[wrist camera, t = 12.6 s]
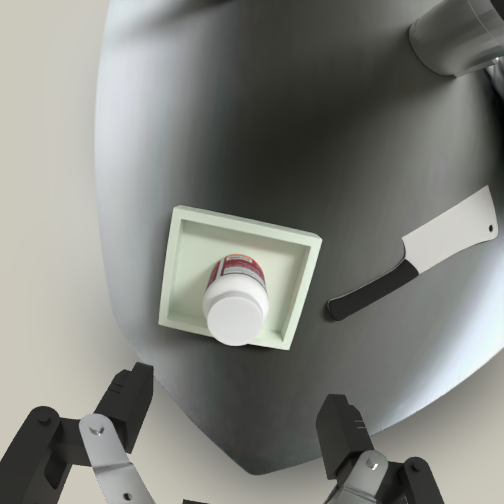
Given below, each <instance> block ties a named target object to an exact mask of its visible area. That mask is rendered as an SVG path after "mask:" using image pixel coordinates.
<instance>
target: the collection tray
mask: <svg viewBox="0 0 504 504" xmlns="http://www.w3.org/2000/svg"><path fill="white" fill-rule="evenodd" d="M321 243H322V239H321V238H320V237H319V236H318V235H317V234H314V233H310V232H305V231H301V230H297V229H292V228H288V227H283V226H279V225H275V224H270V223H265V222H261V221H256V220H252V219H247V218H242V217H238V216H233V215H228V214H223V213H218V212H214V211H209V210H204V209H199V208H194V207H189V206H183V205H178V206H176V207H174V208H173V214H172V220H171V226H170V233H169V239H168V246H167V253H166V260H165V268H164V276H163V284H162V293H161V302H160V312H159V322H158V325H162V326H166V327H171V328H175V329H179V330H183V331H188V332H192V333H197V334H202V335H206V336H211V337H214V336H213V335H212V334H211V333H210V331H209V329H208V326H207V320H206V318H205V316H204V313H203V298H204V294H205V291H206V288H207V285H208V282H209V278H210V275H211V272H212V270H213V268H214V266H215V265H216V263H217V262H218V261H219V260H220V259H222V258H223V257H225V256H227V255H231V254H244V255H247V256H249V257H251V258H253V259H254V260H255V261H256V262H257V263H258V264H259V265H260V267H261V269H262V271H263V274H264V278H265V284H266V289H267V294H268V299H269V313H268V316H267V318H266V320H265V322H264V323H263V327H262V330H261V332H260V334H259V335H258V336H257V337H256V338H255V339H254V340H253V341H251V342H250V343H248V344H253V345H259V346H265V347H272V348H278V349H285V350H289V348H290V345H291V342H292V339H293V336H294V333H295V330H296V327H297V324H298V320H299V317H300V314H301V311H302V308H303V305H304V301H305V298H306V295H307V292H308V288H309V285H310V281H311V278H312V275H313V271H314V268H315V264H316V261H317V257H318V253H319V250H320V246H321Z"/></svg>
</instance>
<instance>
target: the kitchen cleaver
mask: <svg viewBox="0 0 504 504" xmlns="http://www.w3.org/2000/svg"><path fill="white" fill-rule="evenodd" d="M490 225H492V231H491V232H490V231H489V226H490ZM497 235H498V225H497V219H496V214H495V209H494V205H493V201H492V198H491V194H490V191H489V187H488V185H487V186H485V187H484V188H482V189H481V190H479V191H477V192H476V193H474V194H473V195H471V196H470V197H468V198H467V199H465V200H464V201H462V202H460V203H459V204H457V205H456V206H454V207H452V208H451V209H449V210H448V211H446V212H444V213H443V214H441V215H440V216H438V217H436V218H435V219H433V220H431V221H430V222H428V223H426V224H425V225H423V226H421V227H420V228H418V229H416V230H415V231H413V232H411V233H409V234H408V235H406V236H404V237H403V238H402V240H403V243H404V246H405V257H404V259H402V261H401V262H400V263H399V264H398V265H397V266H396V267H395V268H393V269H392V270H390V271H389V272H387V273H385V274H383V275H382V276H380V277H378V278H376V279H374V280H373V281H371V282H369V283H367V284H365V285H363V286H361V287H359V288H357V289H355V290H353V291H351V292H349V293H347V294H345V295H343V296H340V297H337V298H334V299H330V300H329V301H328V304H327V306H328V310H329V313H330V315H331V316H332V318H333V319H334V320H336V321H340V320H342V319H344V318H346V317H348V316H349V315H351V314H353V313H355V312H357V311H359V310H360V309H362V308H364V307H366V306H368V305H369V304H371V303H373V302H375V301H376V300H378V299H380V298H382V297H384V296H385V295H387V294H389V293H391V292H392V291H394V290H396V289H398V288H399V287H401V286H403V285H404V284H406V283H408V282H409V281H411V280H412V279H414V278H415V277H417V276H418V275H419V274H420V273H422V272H424V271H426V270H427V269H429V268H431V267H432V266H434V265H436V264H437V263H439V262H441V261H442V260H444V259H446V258H447V257H449V256H451V255H453V254H454V253H456V252H458V251H460V250H463V249H465V248H467V247H469V246H472V245H474V244H477V243H480V242H483V241H487V240H491V239H494V238H496V237H497Z"/></svg>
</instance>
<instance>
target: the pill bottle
mask: <svg viewBox="0 0 504 504" xmlns="http://www.w3.org/2000/svg"><path fill="white" fill-rule="evenodd" d="M203 313H204V316H205V318H206V320H207V326H208V329H209V331H210V333H211V334H212V335H213V336H214V338H216V339H217V340H218V341H220V342H222V343H224V344H227V345H231V346H240V345H245V344H248V343H250V342H251V341H253V340H254V339H255V338H256V337H257V336H258V335H259V334H260V332H261V330H262V327H263V323H264V322H265V320H266V318H267V316H268V313H269V299H268V294H267V289H266V284H265V278H264V274H263V271H262V269H261V267H260V265H259V264H258V263H257V262H256V261H255V260H254V259H253V258H251V257H249V256H247V255H244V254H231V255H227V256H225V257H223V258H222V259H220V260H219V261H218V262H217V263H216V265H215V266H214V268H213V270H212V272H211V275H210V278H209V282H208V285H207V288H206V291H205V294H204V298H203Z"/></svg>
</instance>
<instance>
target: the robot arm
mask: <svg viewBox="0 0 504 504" xmlns="http://www.w3.org/2000/svg"><path fill="white" fill-rule="evenodd" d="M409 40H410V44H411V46H412V48H413V50H414V52H415V53H416V55H417V57H418V58H419V59H420V60H421V62H423V63H424V64H425V65H426V66H427V67H428V68H429V69H431V70H432V71H434V72H435V73H437V74H440V75H445V76H448V75H454V76H456V77H460V76H463V75H465V74H468V73H471V72H474V71H477V70H480V69H483V68H486V67H489V66H492V65H495V64H497V63H498V61H499V60H498V57H501V56H504V0H443V1H442V2H440V3H439V4H438V5H436V6H435V7H434V8H432V9H431V10H430V11H428V12H427V13H426V14H424V15H423V16H422V17H421V18H419V19H418V20H416V22H414V23H413V24H412V25H411V27H410V28H409ZM153 371H154V369H153V366H151V365H147V364H143V363H140V362H137V363H136V364H135V366H134V368H133V369H132V371H128V370H122V371H121V372H120V373H118V374H117V375H115V377H114V379H113V380H112V382H111V384H110V386H109V387H108V390H107V391H106V392H105V394H104V396H103V397H102V400H101V401H100V403H99V404H98V406H97V408H96V410H95V411H94V413H93V414H89V415H86V416H84V417H83V418H82V419H80V420H76V419H68V418H61V417H59V414H58V413H57V412H56V411H55V410H54V409H52V408H51V407H47V406H40V407H36V408H35V409H33V410H32V411H31V412H30V414H29V415H28V417H27V418H26V420H25V421H24V423H23V424H22V426H21V428H20V429H19V431H18V432H17V434H16V436H15V437H14V439H13V441H12V442H11V444H10V446H9V447H8V449H7V451H6V453H5V454H4V456H3V458H2V460H1V461H0V504H57V503H58V500H59V498H60V495H61V492H62V490H63V487H64V484H65V482H66V479H67V477H68V474H69V472H70V469H71V467H72V464H74V465H81V466H90V467H93V470H94V473H95V476H96V478H97V481H98V483H99V485H100V488H101V490H102V492H103V494H104V497H105V499H106V501H107V503H108V504H155V502H154V500H153V499H152V497H151V495H150V493H149V492H148V490H147V488H146V487H145V485H144V483H143V481H142V479H141V477H140V476H139V474H138V472H137V470H136V468H135V467H134V465H133V464H132V463H131V462H130V461H129V459H128V457H127V455H126V453H129V454H131V452H132V450H133V447H134V444H135V442H136V439H137V436H138V434H139V431H140V429H141V426H142V424H143V421H144V418H145V416H146V413H147V411H148V408H149V405H150V403H151V400H152V396H153ZM316 429H317V434H318V438H319V442H320V447H321V451H322V456H323V460H324V465H325V469H326V474H327V478H328V480H332V479H337V485H336V486H335V487H334V489H333V490H332V492H331V493H330V495H329V496H328V497H327V499H326V500H325V502H324V503H323V504H375V503H376V504H407V503H408V504H444V501H443V499H442V496H441V494H440V491H439V489H438V487H437V484H436V482H435V479H434V477H433V475H432V472H431V470H430V467H429V465H428V463H427V462H426V461H425V460H423V459H422V458H419V457H411V458H409V459H407V460H406V461H405V462H404V463H396V462H390V461H388V460H387V458H386V457H385V456H384V455H383V454H382V453H380V452H378V451H375V450H374V447H373V445H372V443H371V439H370V437H369V434H368V432H367V429H366V428H365V424H364V422H363V419H362V417H361V414H360V412H359V411H358V410H357V409H356V408H355V407H354V406H353V405H349V404H348V401H347V399H346V396H345V395H338V394H329V395H328V396H327V397H326V399H325V401H324V403H323V405H322V407H321V409H320V411H319V413H318V415H317V419H316ZM125 452H126V453H125ZM405 496H406V498H405ZM406 499H407V501H406ZM183 504H207V503H201V502H195V501H189V500H183Z"/></svg>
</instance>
